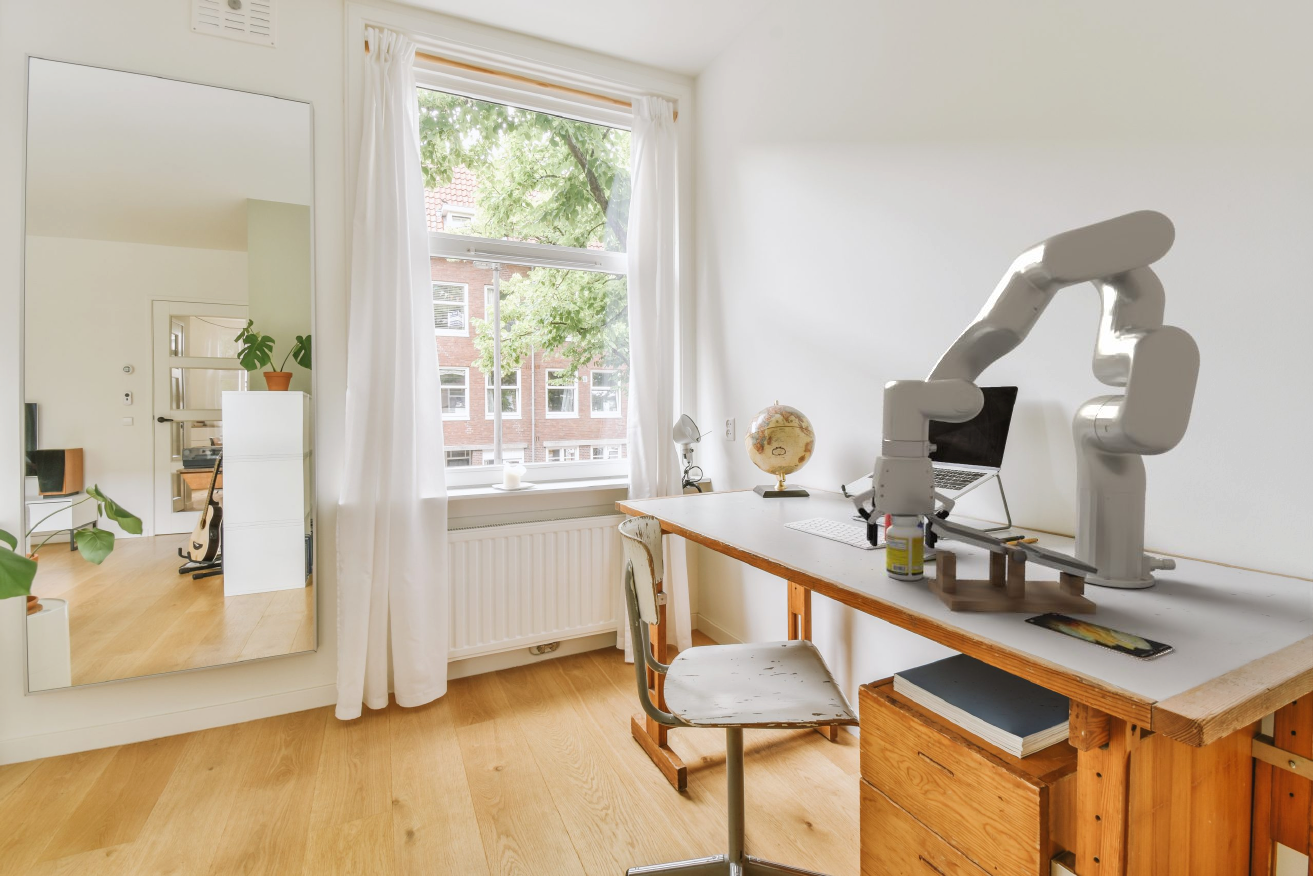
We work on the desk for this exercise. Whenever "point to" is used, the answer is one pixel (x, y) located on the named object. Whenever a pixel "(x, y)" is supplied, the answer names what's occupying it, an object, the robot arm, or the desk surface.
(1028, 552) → the beam
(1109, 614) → the desk surface
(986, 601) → the stand
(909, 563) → the pill bottle
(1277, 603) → the desk surface
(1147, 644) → the smartphone
